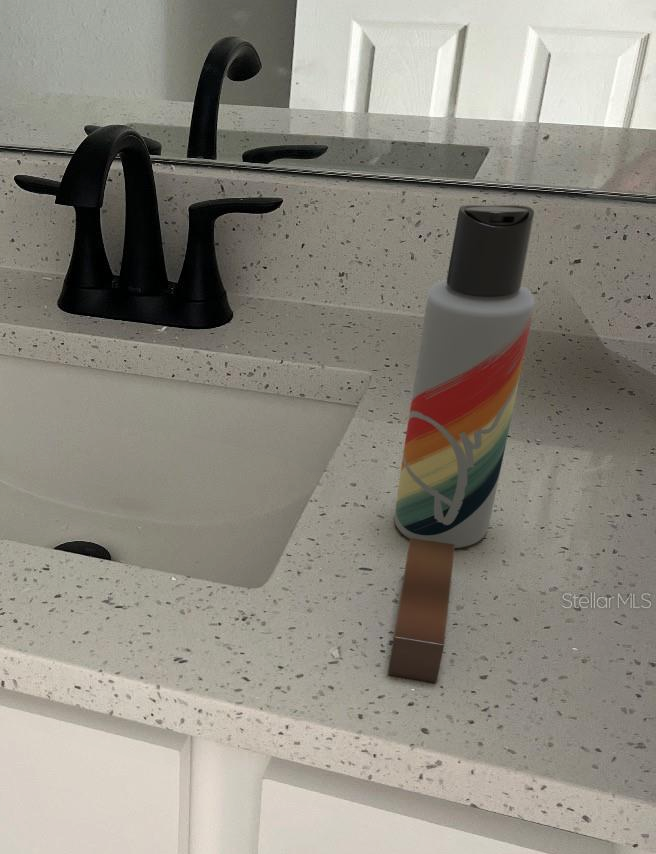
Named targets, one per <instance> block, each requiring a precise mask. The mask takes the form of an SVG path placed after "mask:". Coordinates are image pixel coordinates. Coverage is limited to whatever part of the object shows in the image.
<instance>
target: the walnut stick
mask: <svg viewBox="0 0 656 854" xmlns="http://www.w3.org/2000/svg"><path fill="white" fill-rule="evenodd" d="M455 549H456V548H455V545H454V544H449V543H442V542H434V541H427V540H420V539H413V538H411V539H409V543H408V549H407V554H406V560H405V561H406V562H405V568H404V574H403V579H402V585H401V591H400V597H399V604H398V608H397V615H396V620H395V621H396V622H395V628H394V633H393V639H392V645H391V651H390V656H389V657H390V658H389V664H388V669H387V675H389V676H392V677H393V676H394V677H399V678H407V679H412V680H417V681H424V682H430V683H437V682H438V678H439V673H440V667H441V663H442V658H443V652H444V647H445V639H446V629H447V623H448V622H447V621H448V612H449V603H450V593H451V584H452V576H453V575H452V574H453V566H454V558H455Z"/></svg>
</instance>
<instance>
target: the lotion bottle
mask: <svg viewBox="0 0 656 854" xmlns="http://www.w3.org/2000/svg"><path fill="white" fill-rule="evenodd" d="M534 217H535V211H534V209H533V208H531V207H530V206H526V205H516V204H515V205H513V204H512V205H508V204H507V205H505V204H503V205H483V204H482V205H479V204H478V205H476V204H475V205H473V204H468V205H461V206H460V207H459V209H458V213H457V218H456V224H455V230H454V236H453V241H452V248H451V253H450V257H449V258H450V259H449V265H448V270H447V275H446V279H441V280H439V281H437V282H435V284H433V285H432V286H431V287H430V289H429V291H428V294H427V299H426V303H425V310H424V316H423V323H422V328H421V336H420V341H419V349H418V356H417V361H416V369H415V375H414V380H413V388H412V394H411V401H410V407H409V414H408V421H407V427H406V433H405V439H404V447H403V453H402V459H401V465H400V472H399V480H398V485H397V486H398V487H397V492H396V500H395V509H394V522H395V526H396V527H397V530H399V531H400V533H401V534H403V536H405V537H406V538H408V539H409V540H410V539H411V538H413V539H420V540H427V541H434V542H442V543H449V544H454V545H455V549H459V548H466V547H468V546H472V545H475V544H477V543H478V542H479V541H481V540H482V539H483V538H484V537H485V535H486V533H487V531H488V529H489V526H490V521H491V516H492V514H493V513H492V512H493V508H494V504H495V499H496V494H497V491H498V490H497V489H498V485H499V479H500V474H501V469H502V465H503V460H504V455H505V451H506V446H507V442H508V437H509V431H510V426H511V421H512V416H513V411H514V407H515V402H516V398H517V392H518V388H519V382H520V379H521V378H520V377H521V373H522V369H523V363H524V359H525V354H526V350H527V349H526V348H527V344H528V339H529V335H530V331H531V325H532V324H531V323H532V320H533V314H534V308H535V297H534V295H533V293H532V292H531V290H529V289H528V288H526V287H525V286H522V283H523V278H524V273H525V266H526V260H527V255H528V251H529V250H528V249H529V245H530V239H531V233H532V228H533V223H534Z"/></svg>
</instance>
